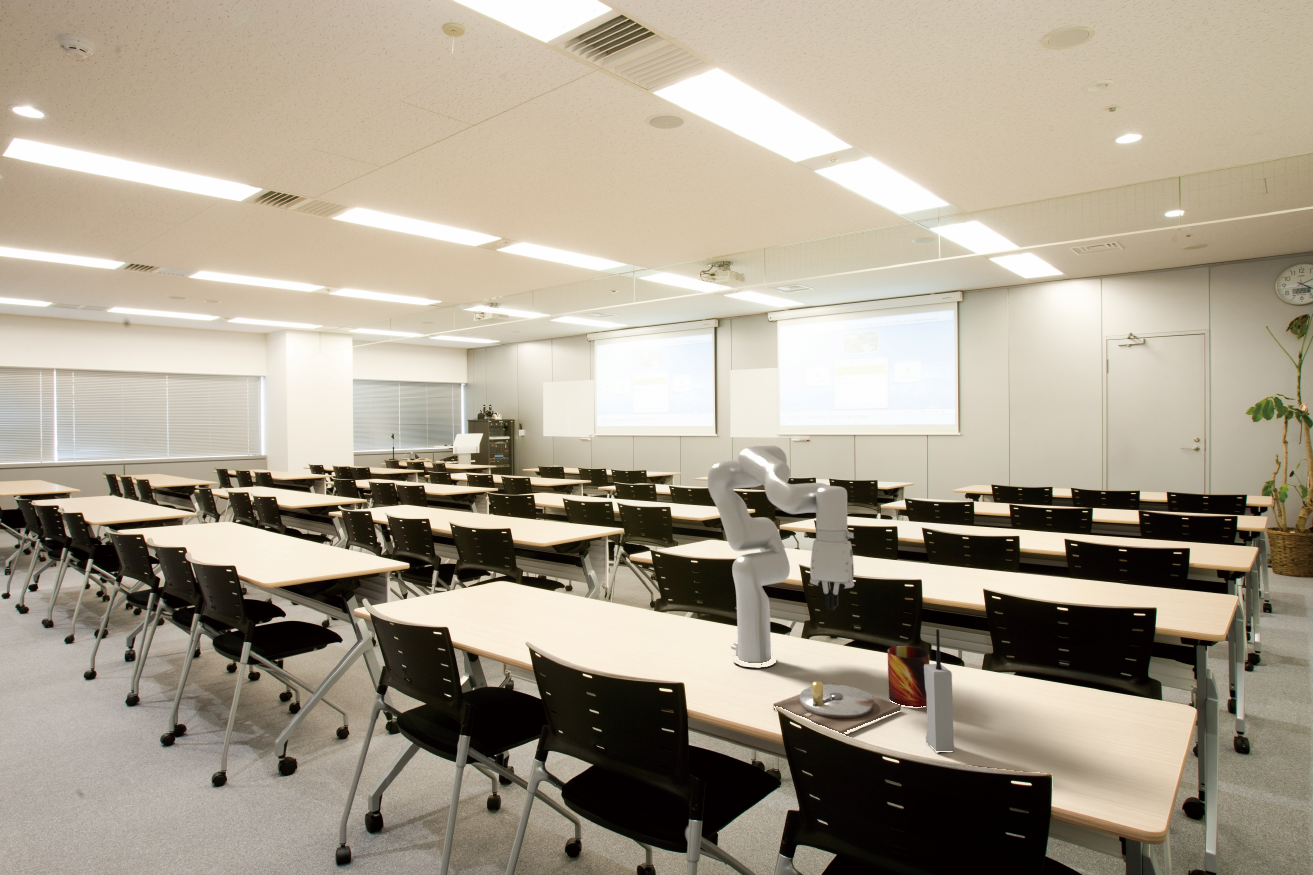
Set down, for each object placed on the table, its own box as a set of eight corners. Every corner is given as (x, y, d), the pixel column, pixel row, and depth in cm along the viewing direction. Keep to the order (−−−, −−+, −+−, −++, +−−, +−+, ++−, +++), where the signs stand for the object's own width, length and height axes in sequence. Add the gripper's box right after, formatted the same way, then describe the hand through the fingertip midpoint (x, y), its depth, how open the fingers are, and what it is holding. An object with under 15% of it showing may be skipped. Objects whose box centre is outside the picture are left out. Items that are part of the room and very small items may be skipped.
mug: (938, 716, 158) (936, 664, 158) (881, 701, 168) (880, 652, 168) (954, 704, 165) (953, 654, 165) (899, 690, 175) (898, 643, 175)
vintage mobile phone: (943, 742, 145) (939, 624, 145) (954, 752, 140) (950, 631, 140) (925, 742, 145) (922, 625, 145) (936, 753, 140) (932, 631, 140)
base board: (773, 709, 165) (773, 702, 165) (833, 687, 178) (833, 681, 178) (840, 737, 148) (840, 730, 148) (900, 711, 161) (900, 704, 161)
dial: (831, 685, 175) (830, 659, 175) (888, 705, 161) (888, 677, 161) (785, 701, 165) (784, 675, 165) (842, 724, 151) (841, 695, 151)
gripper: (864, 535, 170) (865, 608, 171) (805, 531, 177) (805, 601, 177) (860, 540, 164) (860, 616, 164) (798, 536, 170) (798, 609, 171)
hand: (831, 608), depth 171 cm, fingers closed
